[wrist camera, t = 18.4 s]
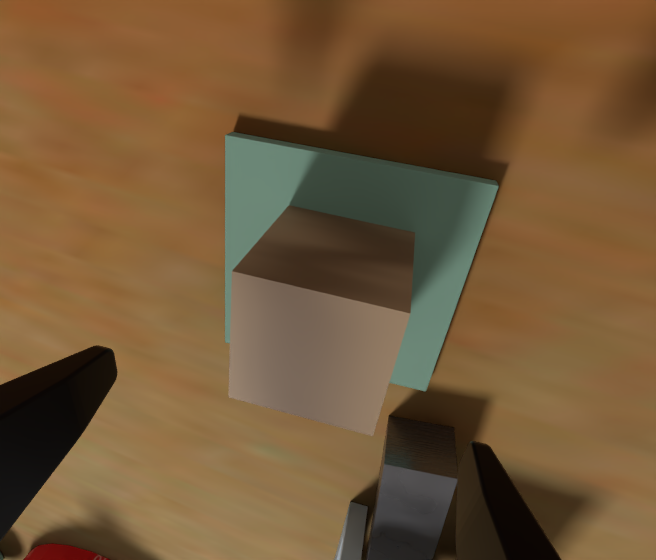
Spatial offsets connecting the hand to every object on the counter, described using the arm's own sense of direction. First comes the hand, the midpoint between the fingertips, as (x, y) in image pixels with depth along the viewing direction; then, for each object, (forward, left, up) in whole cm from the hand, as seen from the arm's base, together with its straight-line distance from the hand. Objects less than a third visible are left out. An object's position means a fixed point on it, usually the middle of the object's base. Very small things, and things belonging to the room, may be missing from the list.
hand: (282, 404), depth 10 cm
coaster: (0, 0, -7) cm, 7 cm away
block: (0, 0, -6) cm, 7 cm away
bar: (-6, +17, -8) cm, 20 cm away
